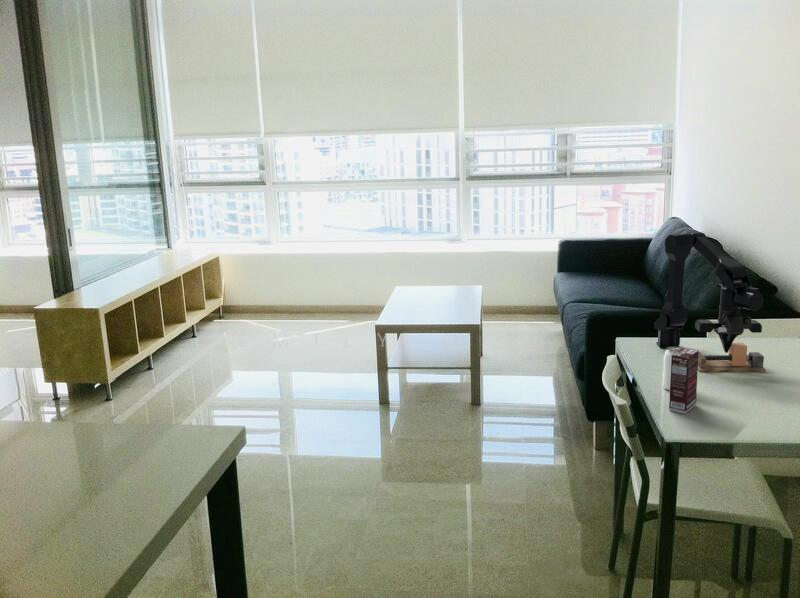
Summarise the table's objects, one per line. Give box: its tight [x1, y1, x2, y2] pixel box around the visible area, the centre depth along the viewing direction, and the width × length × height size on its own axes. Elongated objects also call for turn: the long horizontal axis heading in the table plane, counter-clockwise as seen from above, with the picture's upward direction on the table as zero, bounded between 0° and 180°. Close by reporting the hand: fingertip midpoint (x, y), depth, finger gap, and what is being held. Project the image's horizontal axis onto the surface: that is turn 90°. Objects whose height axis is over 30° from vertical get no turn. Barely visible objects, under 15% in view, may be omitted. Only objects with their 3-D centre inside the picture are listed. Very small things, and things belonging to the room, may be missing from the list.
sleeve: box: [727, 342, 748, 366], centre depth 237 cm, size 4×4×6 cm
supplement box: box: [668, 347, 700, 415], centre depth 204 cm, size 9×5×16 cm, turn 141°
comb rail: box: [697, 351, 767, 373], centre depth 238 cm, size 20×9×4 cm, turn 85°
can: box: [662, 346, 683, 392], centre depth 220 cm, size 6×6×12 cm
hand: (726, 352), depth 238 cm, fingers closed
